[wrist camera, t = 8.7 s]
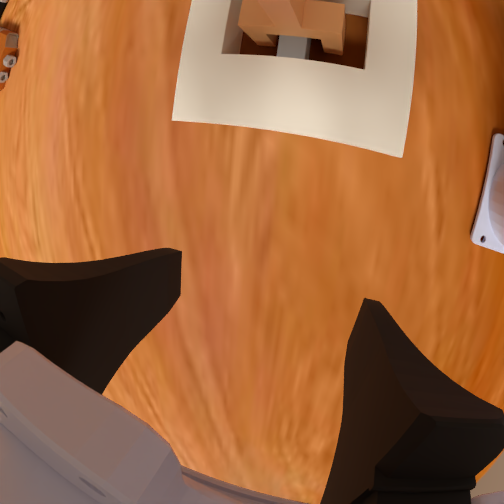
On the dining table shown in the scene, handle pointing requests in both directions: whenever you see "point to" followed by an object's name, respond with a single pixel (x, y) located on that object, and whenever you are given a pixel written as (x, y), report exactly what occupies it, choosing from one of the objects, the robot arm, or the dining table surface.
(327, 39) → the notched wooden block
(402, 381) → the robot arm
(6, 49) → the toy gun
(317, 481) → the dining table surface
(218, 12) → the square window frame
